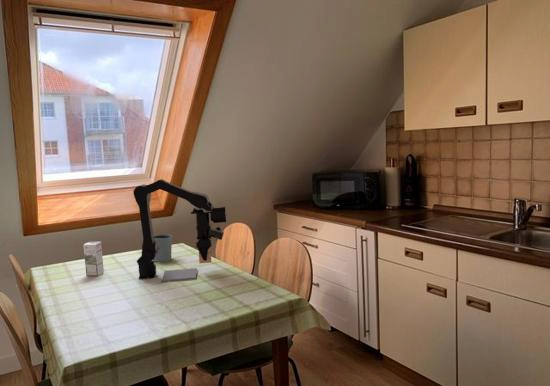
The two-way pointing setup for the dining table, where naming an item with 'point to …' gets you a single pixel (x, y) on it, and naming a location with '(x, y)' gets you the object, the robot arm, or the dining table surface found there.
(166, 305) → the dining table surface
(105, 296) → the dining table surface
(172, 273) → the slate plate
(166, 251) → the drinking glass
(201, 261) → the terracotta block
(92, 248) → the syrup box
